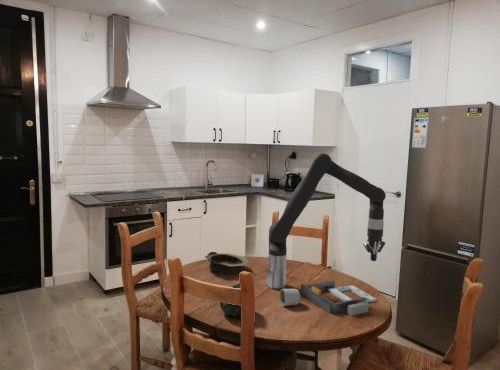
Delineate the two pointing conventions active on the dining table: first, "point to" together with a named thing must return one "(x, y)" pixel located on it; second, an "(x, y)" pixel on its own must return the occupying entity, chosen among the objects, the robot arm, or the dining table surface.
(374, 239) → the robot arm
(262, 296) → the dining table surface
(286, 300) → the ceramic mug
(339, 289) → the grey flat arch
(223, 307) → the squash
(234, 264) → the stone bowl
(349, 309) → the panel
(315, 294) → the rack bay
